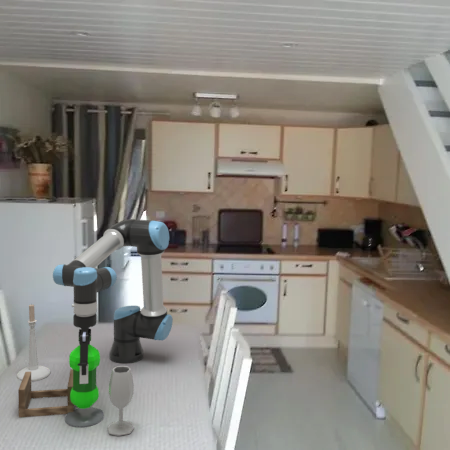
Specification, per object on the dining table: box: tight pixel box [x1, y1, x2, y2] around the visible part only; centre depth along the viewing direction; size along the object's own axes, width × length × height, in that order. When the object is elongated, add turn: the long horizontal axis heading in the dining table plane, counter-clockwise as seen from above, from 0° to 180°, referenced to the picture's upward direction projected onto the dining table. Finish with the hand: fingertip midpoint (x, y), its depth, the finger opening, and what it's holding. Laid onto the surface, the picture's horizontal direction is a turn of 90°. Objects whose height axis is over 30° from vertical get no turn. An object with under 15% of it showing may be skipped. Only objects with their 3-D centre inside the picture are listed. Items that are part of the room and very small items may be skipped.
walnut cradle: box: [17, 368, 76, 419], centre depth 179 cm, size 18×15×10 cm
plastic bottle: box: [68, 335, 101, 409], centre depth 170 cm, size 10×10×25 cm
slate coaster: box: [64, 406, 105, 428], centre depth 172 cm, size 13×13×1 cm
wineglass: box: [106, 365, 135, 437], centre depth 164 cm, size 9×9×21 cm
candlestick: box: [16, 304, 51, 382], centre depth 203 cm, size 13×13×30 cm
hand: (84, 376), depth 170 cm, fingers closed on plastic bottle, 10 cm apart
